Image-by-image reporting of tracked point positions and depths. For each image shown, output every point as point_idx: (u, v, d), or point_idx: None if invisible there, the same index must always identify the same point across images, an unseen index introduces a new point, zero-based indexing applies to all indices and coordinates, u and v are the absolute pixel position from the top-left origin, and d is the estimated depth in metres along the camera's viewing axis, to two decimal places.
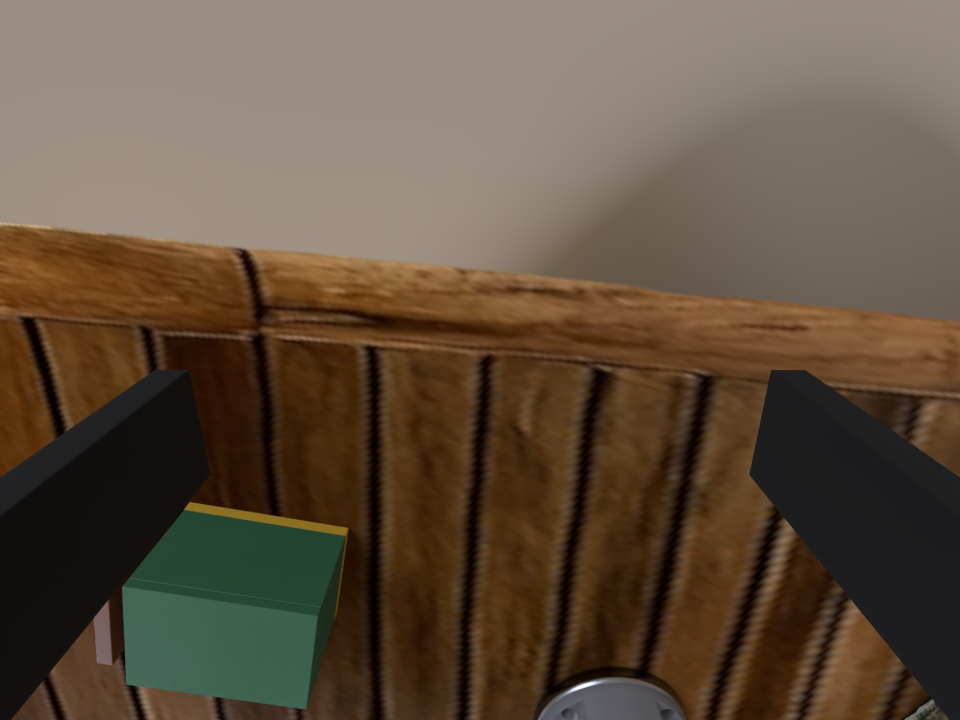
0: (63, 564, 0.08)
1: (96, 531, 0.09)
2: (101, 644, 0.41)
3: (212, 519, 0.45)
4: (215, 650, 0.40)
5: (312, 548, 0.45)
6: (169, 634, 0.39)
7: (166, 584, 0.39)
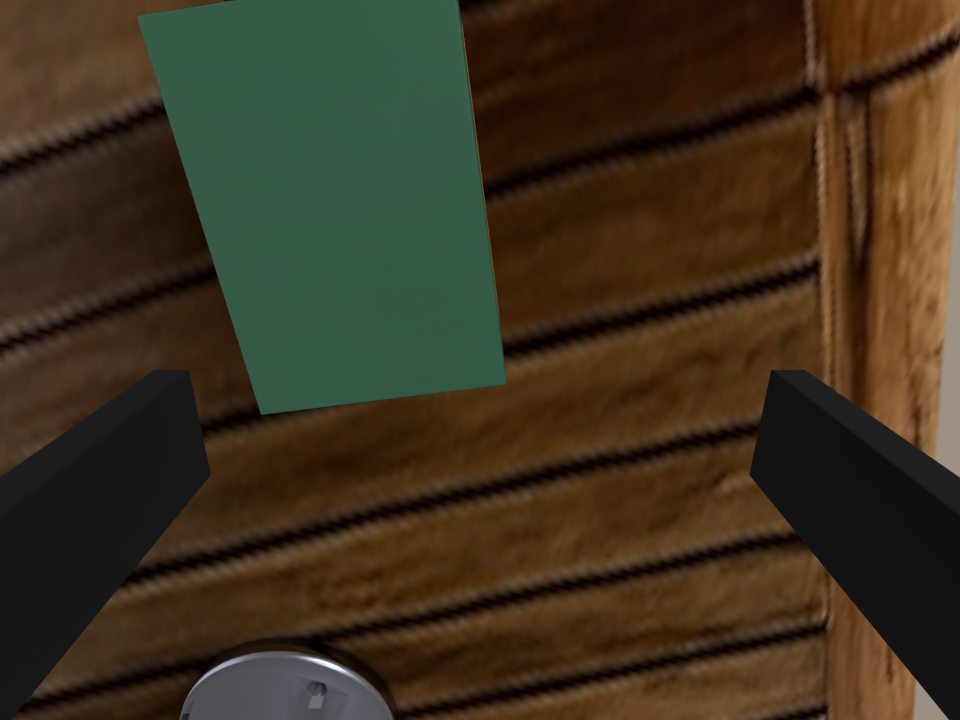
0: (63, 564, 0.08)
1: (96, 531, 0.09)
2: None
3: None
4: (343, 214, 0.19)
5: None
6: (348, 104, 0.17)
7: None
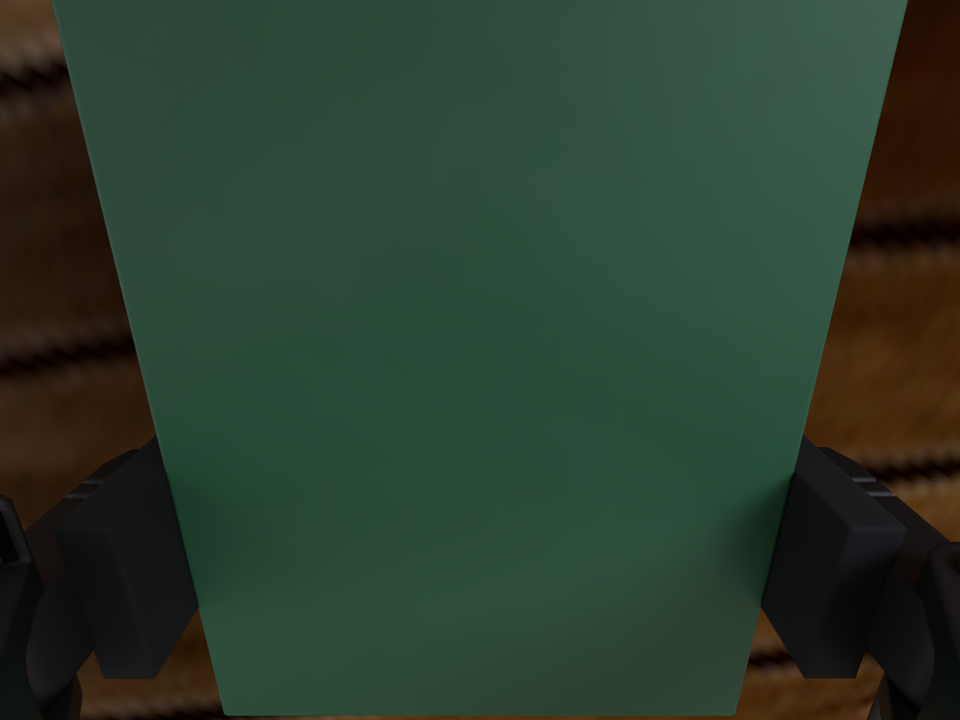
0: None
1: None
2: None
3: None
4: (485, 371, 0.08)
5: None
6: (563, 118, 0.07)
7: None
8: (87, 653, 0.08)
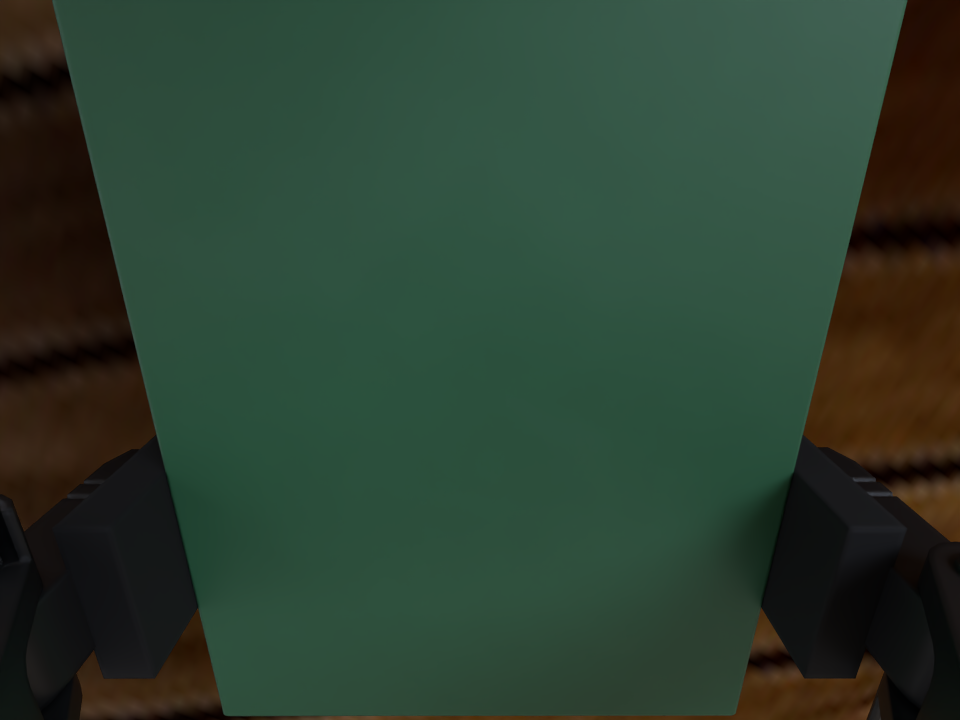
0: None
1: None
2: None
3: None
4: (486, 371, 0.08)
5: None
6: (563, 118, 0.07)
7: None
8: (88, 654, 0.08)
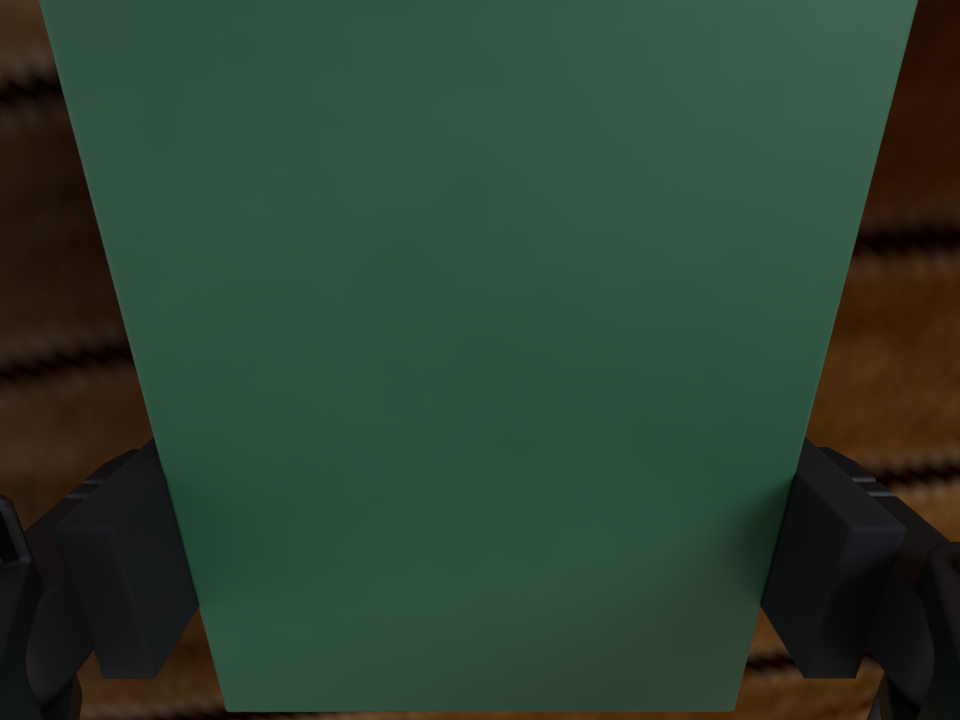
0: None
1: None
2: None
3: None
4: (485, 373, 0.08)
5: None
6: (564, 118, 0.06)
7: None
8: (87, 654, 0.08)
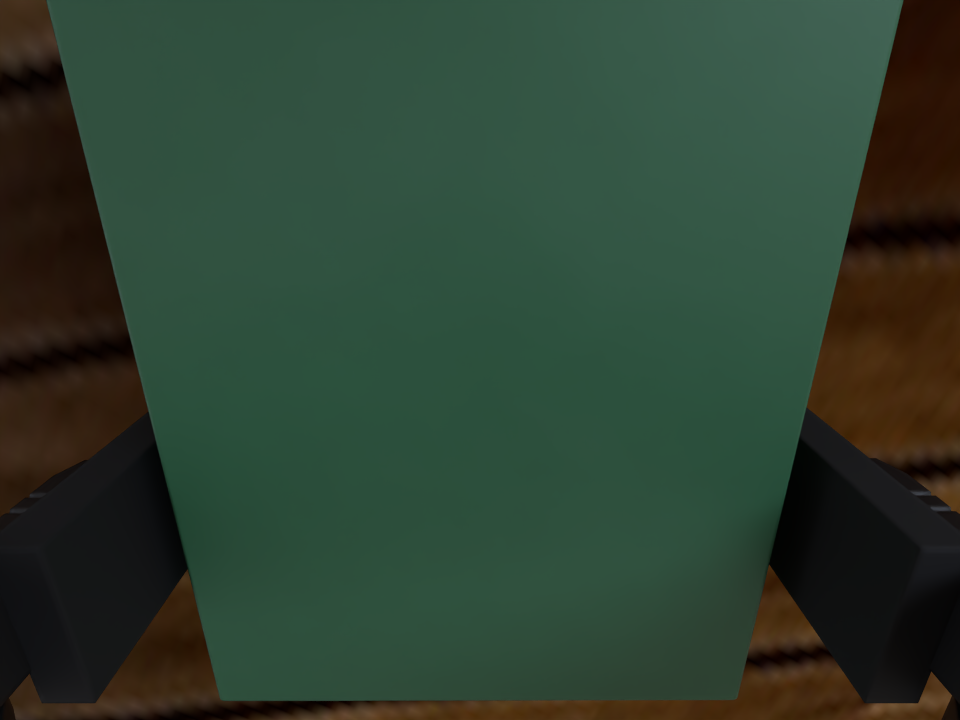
0: (154, 532, 0.09)
1: None
2: None
3: None
4: (482, 346, 0.08)
5: None
6: (559, 83, 0.06)
7: None
8: (21, 678, 0.07)
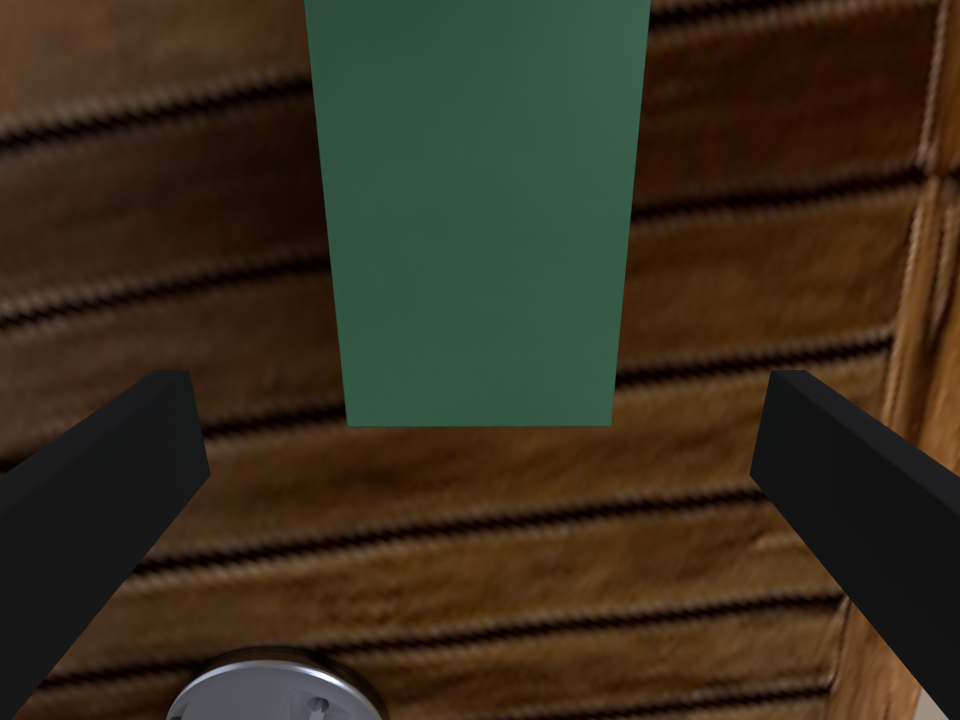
0: (63, 564, 0.08)
1: (96, 531, 0.09)
2: None
3: None
4: (481, 231, 0.17)
5: None
6: (511, 119, 0.16)
7: None
8: None
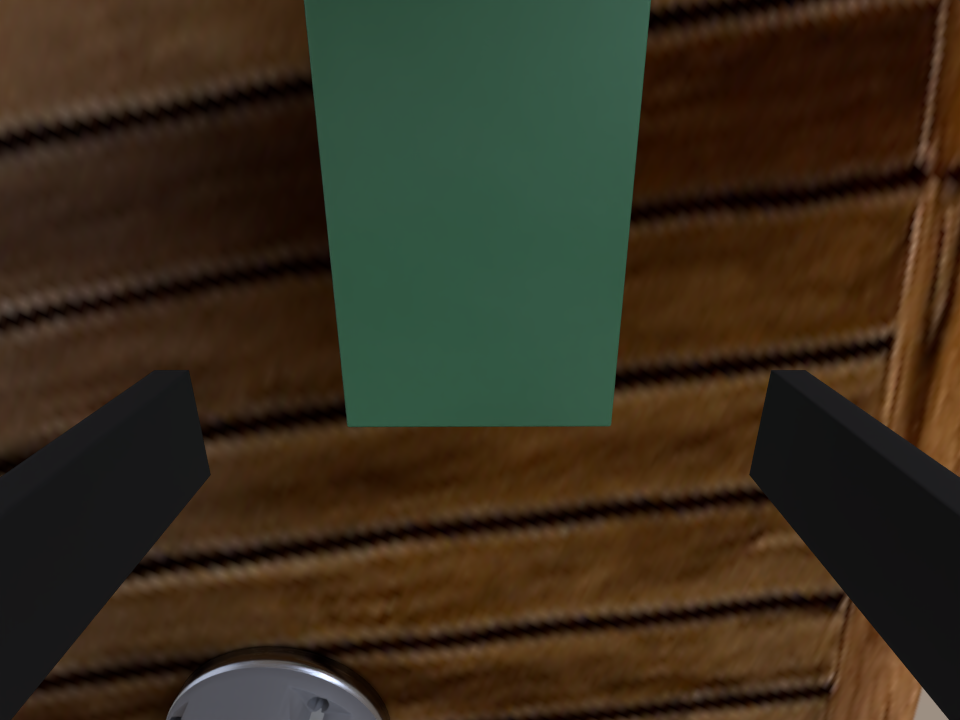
0: (63, 564, 0.08)
1: (96, 531, 0.09)
2: None
3: None
4: (481, 231, 0.17)
5: None
6: (511, 119, 0.16)
7: None
8: None
